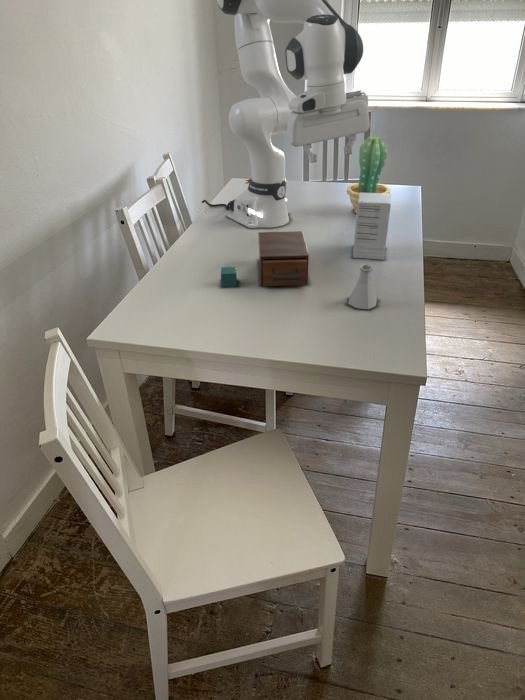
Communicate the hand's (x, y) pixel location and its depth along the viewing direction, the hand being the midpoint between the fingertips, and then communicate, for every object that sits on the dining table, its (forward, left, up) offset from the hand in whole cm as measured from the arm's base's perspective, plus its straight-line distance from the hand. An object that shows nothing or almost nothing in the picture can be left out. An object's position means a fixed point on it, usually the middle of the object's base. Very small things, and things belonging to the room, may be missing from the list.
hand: (330, 158), depth 130 cm
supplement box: (+2, +20, -32) cm, 37 cm away
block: (-15, -22, -31) cm, 41 cm away
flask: (+18, -7, -32) cm, 37 cm away
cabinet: (-9, -7, -31) cm, 34 cm away
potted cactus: (-19, +50, -32) cm, 62 cm away
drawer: (-6, -11, -31) cm, 33 cm away
